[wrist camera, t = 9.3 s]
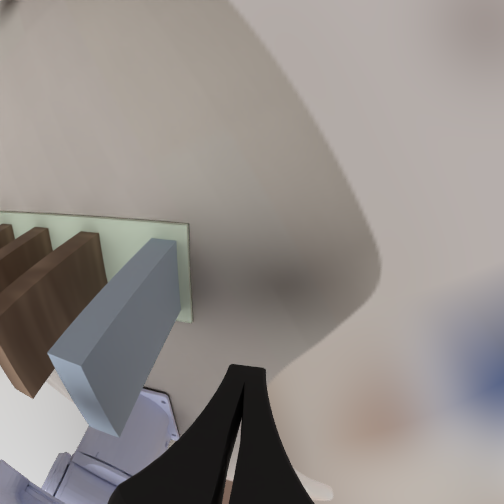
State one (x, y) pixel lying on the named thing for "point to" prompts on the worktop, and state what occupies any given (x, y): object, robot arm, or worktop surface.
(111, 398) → the domino
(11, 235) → the domino
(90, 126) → the worktop surface
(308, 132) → the worktop surface
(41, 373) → the domino
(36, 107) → the worktop surface
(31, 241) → the domino
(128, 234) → the mat
